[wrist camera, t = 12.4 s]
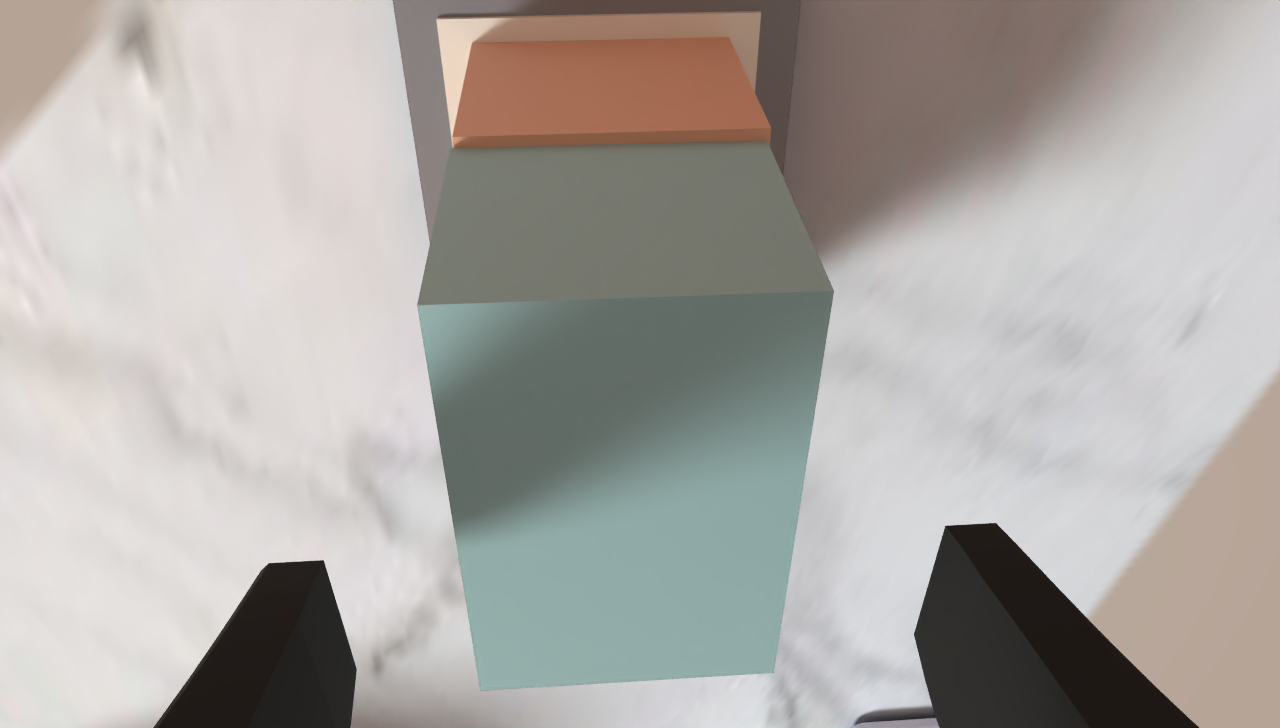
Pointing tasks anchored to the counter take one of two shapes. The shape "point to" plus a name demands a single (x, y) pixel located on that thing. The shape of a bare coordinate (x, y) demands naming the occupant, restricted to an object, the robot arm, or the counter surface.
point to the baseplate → (570, 11)
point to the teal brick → (622, 404)
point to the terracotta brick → (606, 94)
